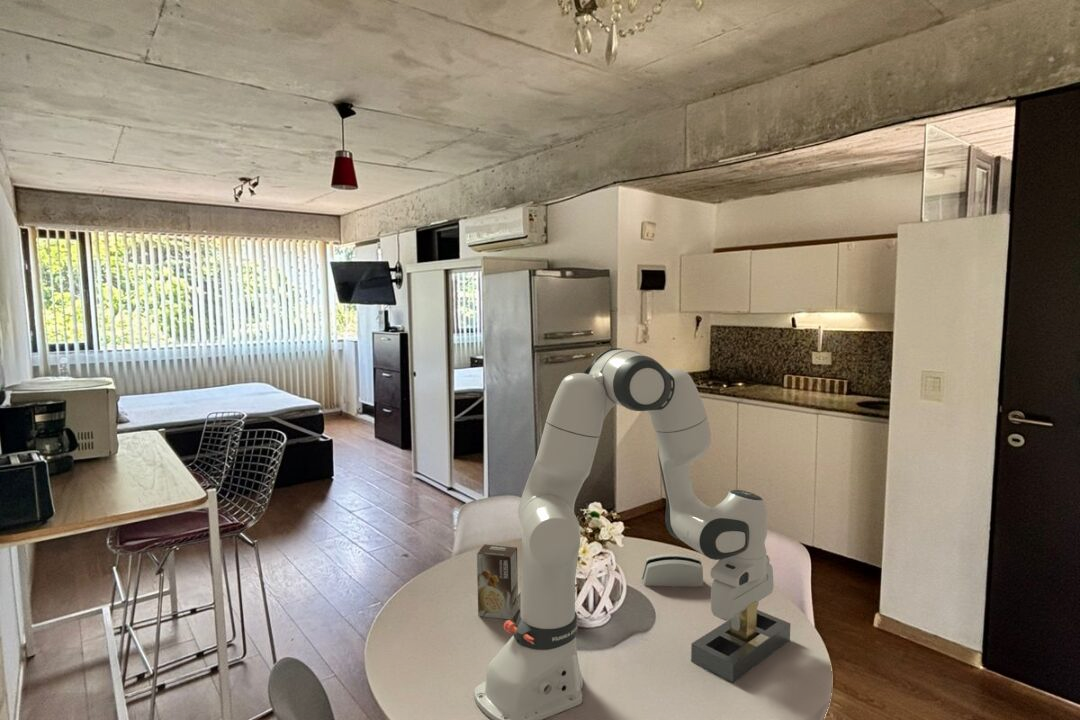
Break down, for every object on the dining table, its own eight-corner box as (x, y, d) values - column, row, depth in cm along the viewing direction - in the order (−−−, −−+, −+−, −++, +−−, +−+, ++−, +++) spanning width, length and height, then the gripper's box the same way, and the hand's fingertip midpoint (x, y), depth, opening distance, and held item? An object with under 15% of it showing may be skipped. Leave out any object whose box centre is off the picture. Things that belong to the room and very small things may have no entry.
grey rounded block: (700, 578, 166) (703, 550, 162) (703, 591, 162) (707, 563, 158) (640, 577, 167) (642, 549, 163) (642, 590, 162) (644, 562, 158)
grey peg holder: (732, 683, 119) (733, 664, 119) (691, 661, 127) (691, 643, 126) (789, 640, 135) (790, 622, 134) (749, 622, 142) (750, 606, 142)
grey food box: (519, 608, 150) (519, 546, 148) (512, 620, 143) (511, 557, 142) (485, 603, 152) (484, 543, 150) (476, 616, 146) (475, 553, 144)
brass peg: (746, 647, 128) (747, 607, 127) (729, 639, 131) (730, 600, 130) (755, 640, 130) (756, 601, 129) (739, 632, 133) (740, 594, 132)
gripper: (755, 547, 138) (754, 603, 139) (705, 572, 125) (704, 634, 126) (781, 555, 133) (779, 613, 134) (732, 582, 120) (731, 647, 121)
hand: (743, 624), depth 130 cm, fingers closed on brass peg, 4 cm apart
